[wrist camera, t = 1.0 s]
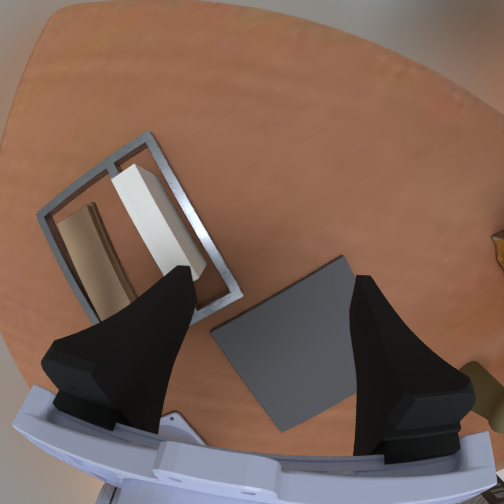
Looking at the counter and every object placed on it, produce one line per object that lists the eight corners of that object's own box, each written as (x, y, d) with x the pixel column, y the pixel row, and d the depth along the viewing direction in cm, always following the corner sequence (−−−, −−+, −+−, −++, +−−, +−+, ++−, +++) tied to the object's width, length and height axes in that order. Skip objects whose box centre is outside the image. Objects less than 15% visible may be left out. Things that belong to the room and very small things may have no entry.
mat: (280, 429, 30) (281, 432, 29) (210, 330, 28) (210, 332, 27) (392, 365, 30) (394, 367, 29) (341, 255, 28) (344, 255, 27)
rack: (123, 357, 28) (118, 363, 26) (43, 214, 26) (35, 214, 24) (243, 291, 28) (244, 295, 26) (153, 134, 26) (149, 129, 24)
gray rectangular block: (188, 274, 28) (174, 292, 21) (139, 188, 26) (111, 179, 19) (207, 263, 28) (198, 278, 21) (158, 176, 26) (134, 163, 19)
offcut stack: (117, 331, 28) (108, 339, 26) (66, 222, 27) (54, 222, 24) (149, 316, 28) (143, 324, 26) (96, 203, 27) (86, 202, 24)
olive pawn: (447, 407, 31) (493, 449, 20) (450, 372, 31) (503, 412, 20) (478, 389, 32) (525, 423, 21) (482, 354, 31) (536, 385, 20)
